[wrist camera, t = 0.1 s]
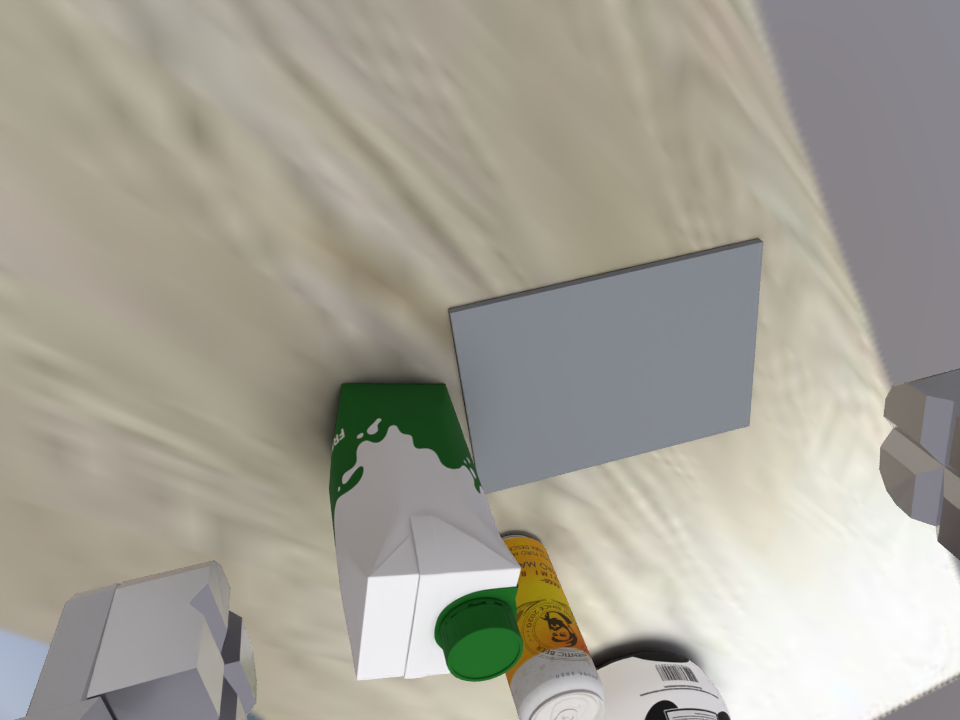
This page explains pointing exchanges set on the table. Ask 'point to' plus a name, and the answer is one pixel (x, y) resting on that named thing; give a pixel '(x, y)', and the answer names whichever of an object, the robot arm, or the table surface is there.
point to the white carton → (417, 540)
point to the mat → (609, 364)
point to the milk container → (659, 689)
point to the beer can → (549, 645)
